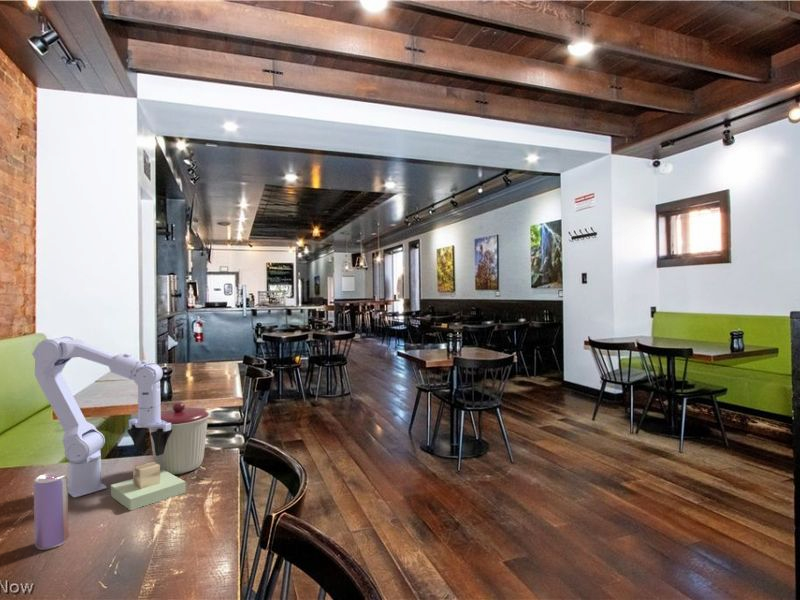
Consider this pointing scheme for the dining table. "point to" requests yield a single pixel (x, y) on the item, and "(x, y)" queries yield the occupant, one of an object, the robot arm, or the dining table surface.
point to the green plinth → (147, 491)
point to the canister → (183, 439)
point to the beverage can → (51, 510)
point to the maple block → (146, 474)
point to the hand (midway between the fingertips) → (150, 453)
